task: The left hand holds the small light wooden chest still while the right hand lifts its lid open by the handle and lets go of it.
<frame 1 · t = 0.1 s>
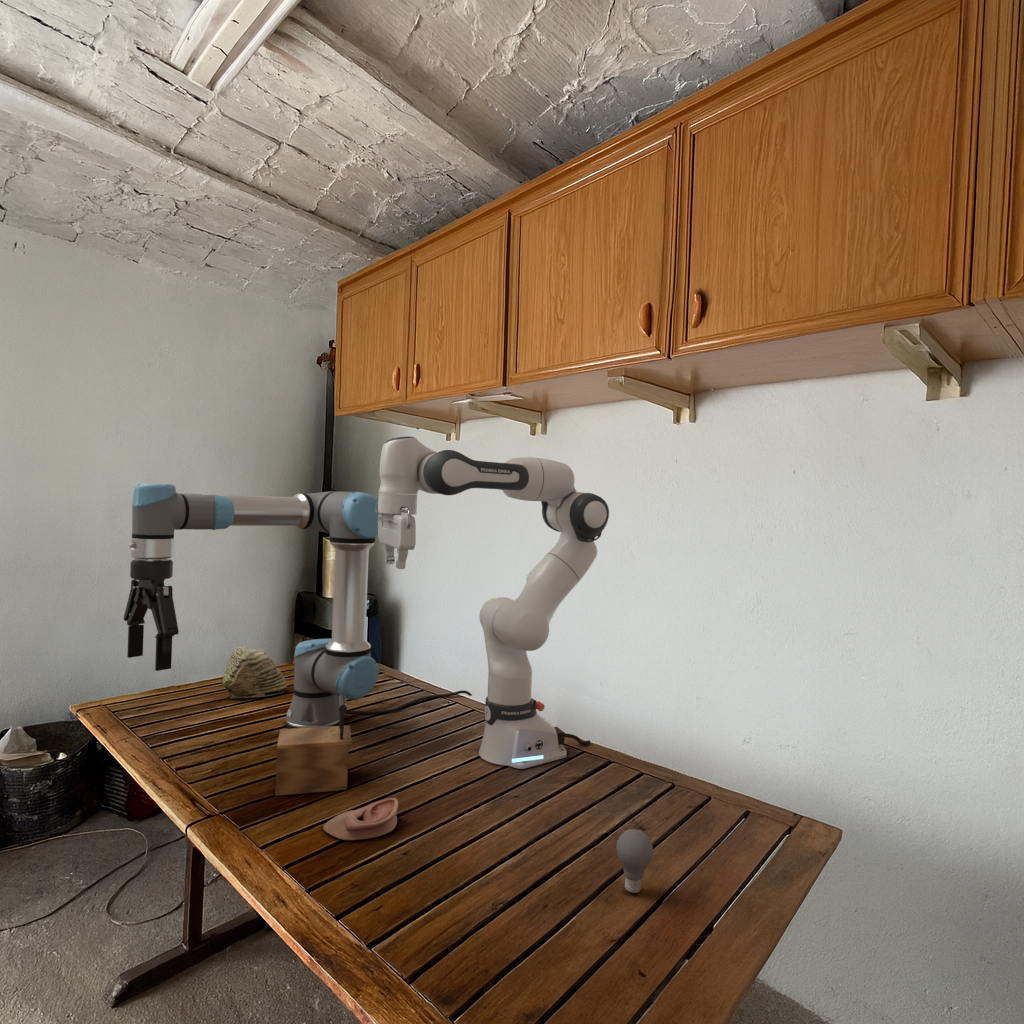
left hand: (148, 662, 129), 28 cm above the table, tool pointing down, fingers open, 13 cm apart
right hand: (395, 566, 146), 48 cm above the table, tool pointing down, fingers open, 8 cm apart
fossil: (254, 694, 198), on the table
light bulb: (632, 891, 106), on the table
chest: (312, 782, 140), on the table
anatomical model: (361, 826, 122), on the table
lid: (315, 719, 140), point 14 cm above the table, hinge at 0.0°
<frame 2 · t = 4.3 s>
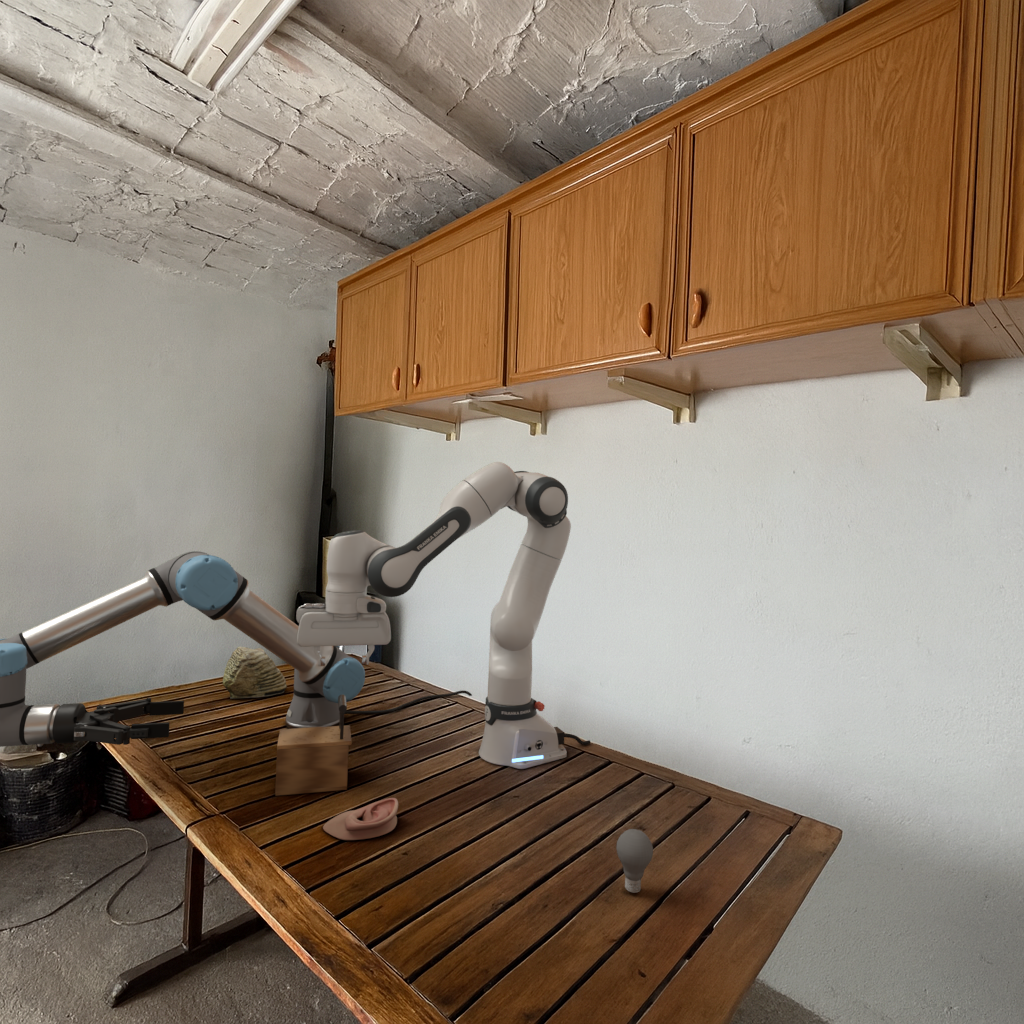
left hand: (176, 717, 132), 16 cm above the table, tool horizontal, fingers open, 13 cm apart
right hand: (343, 664, 141), 26 cm above the table, tool pointing down, fingers open, 8 cm apart
nothing on the table moved.
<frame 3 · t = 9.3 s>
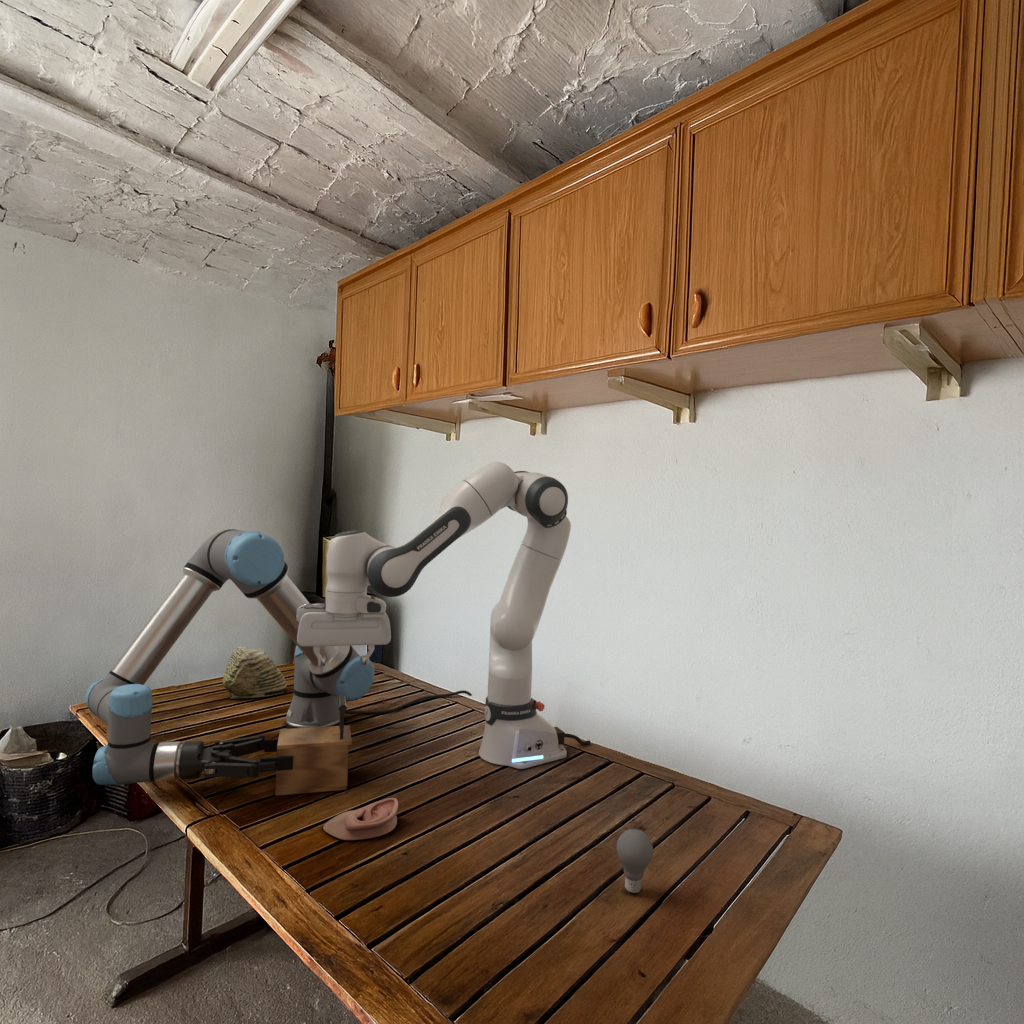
left hand: (294, 752, 139), 7 cm above the table, tool horizontal, fingers closed on chest, 10 cm apart
right hand: (343, 664, 141), 26 cm above the table, tool pointing down, fingers open, 8 cm apart
chest: (312, 782, 140), on the table, touching left hand
everything else where it was.
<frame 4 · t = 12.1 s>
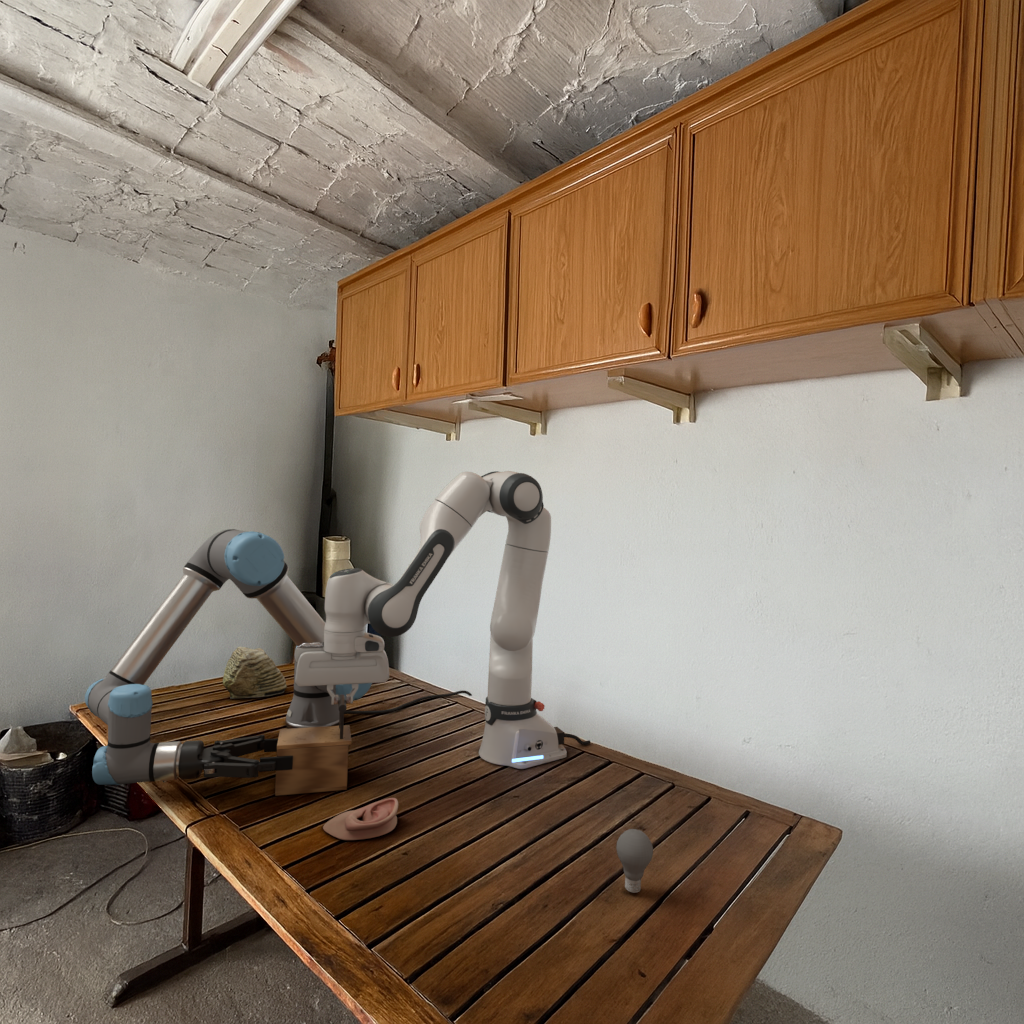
left hand: (293, 752, 139), 7 cm above the table, tool horizontal, fingers closed on chest, 10 cm apart
right hand: (342, 703, 141), 17 cm above the table, tool pointing down, fingers closed on lid, 2 cm apart
chest: (311, 782, 140), on the table, touching left hand
lid: (315, 719, 140), point 14 cm above the table, hinge at 0.2°, touching right hand
everything else where it was.
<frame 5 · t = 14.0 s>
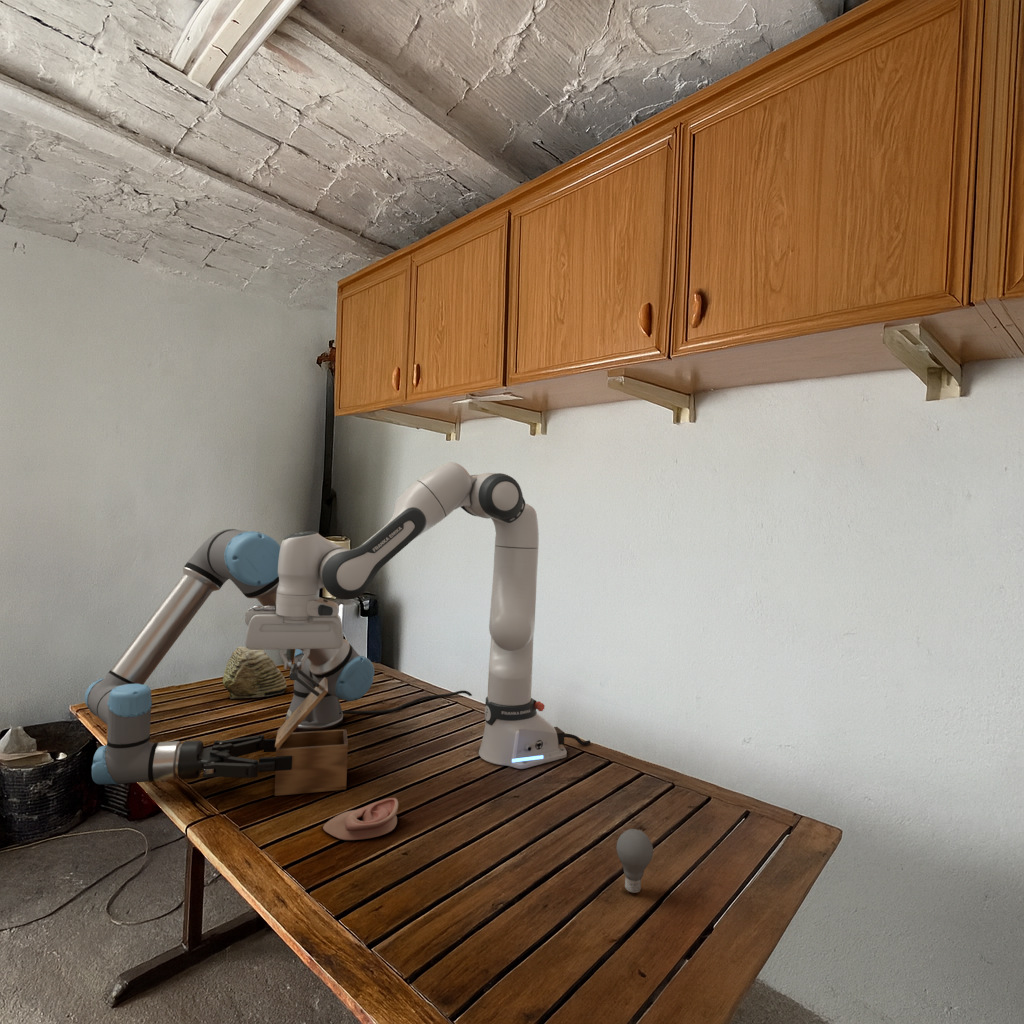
left hand: (293, 752, 139), 7 cm above the table, tool horizontal, fingers closed on chest, 10 cm apart
right hand: (294, 668, 138), 26 cm above the table, tool pointing down, fingers closed, pressing on lid
chest: (311, 782, 140), on the table, touching left hand
lid: (288, 701, 138), point 18 cm above the table, hinge at 50.1°, touching right hand
everything else where it was.
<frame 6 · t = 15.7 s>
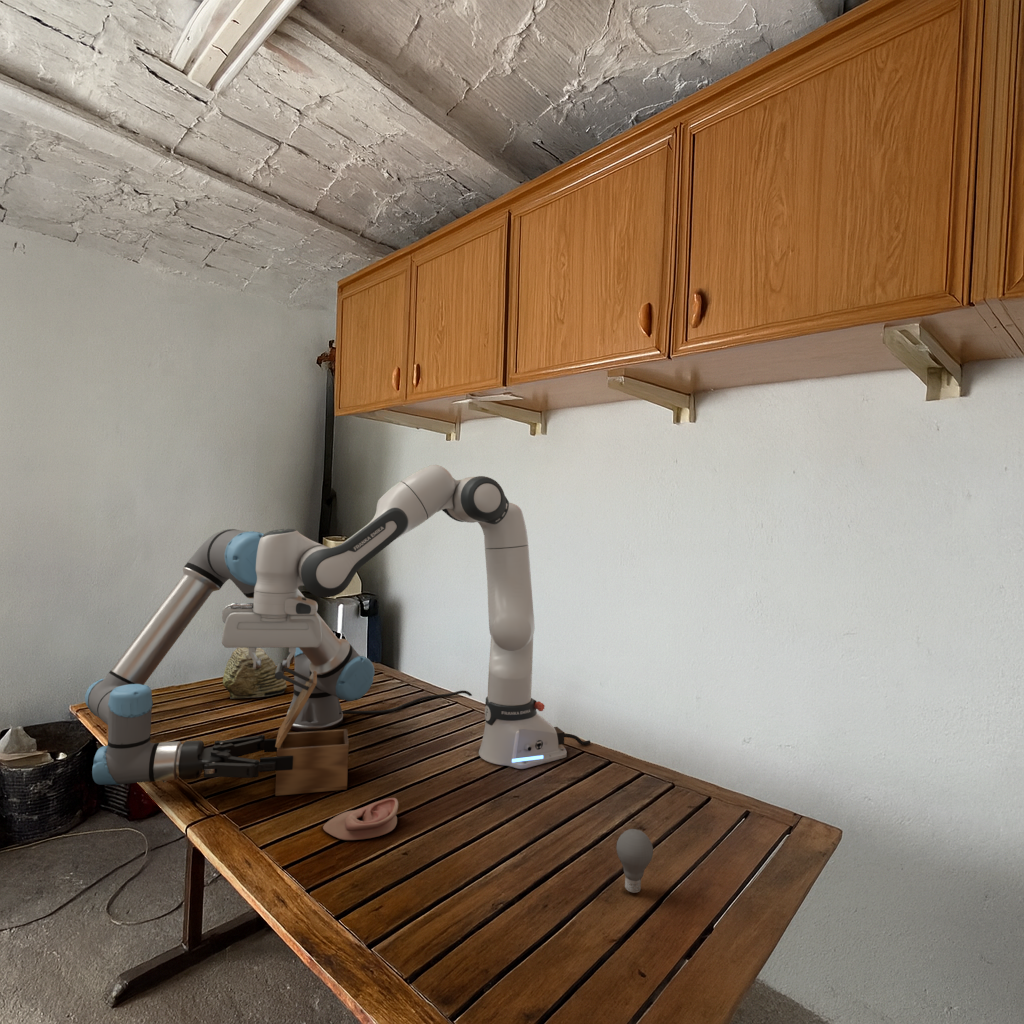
left hand: (293, 752, 139), 7 cm above the table, tool horizontal, fingers closed on chest, 10 cm apart
right hand: (271, 667, 137), 26 cm above the table, tool pointing down, fingers open, 4 cm apart
chest: (312, 782, 140), on the table, touching left hand
lid: (280, 700, 138), point 19 cm above the table, hinge at 61.7°, touching right hand
everything else where it was.
when the left hand's fingers open (7 cm above the table, at t = 18.7 s): chest stays where it is, on the table.
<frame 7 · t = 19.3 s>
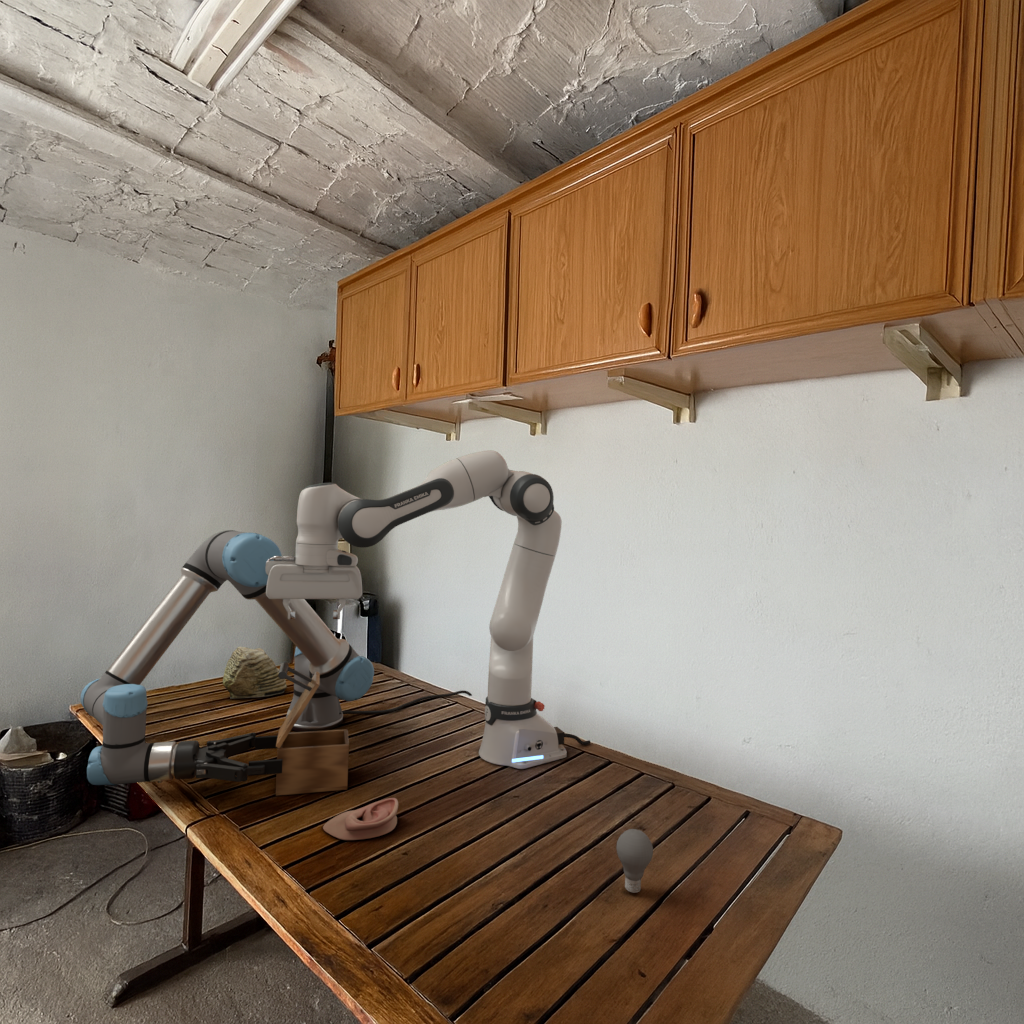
left hand: (284, 753, 138), 7 cm above the table, tool horizontal, fingers open, 13 cm apart
right hand: (314, 619, 139), 36 cm above the table, tool pointing down, fingers open, 8 cm apart
chest: (312, 782, 140), on the table
lid: (283, 700, 138), point 19 cm above the table, hinge at 59.8°
everything else where it was.
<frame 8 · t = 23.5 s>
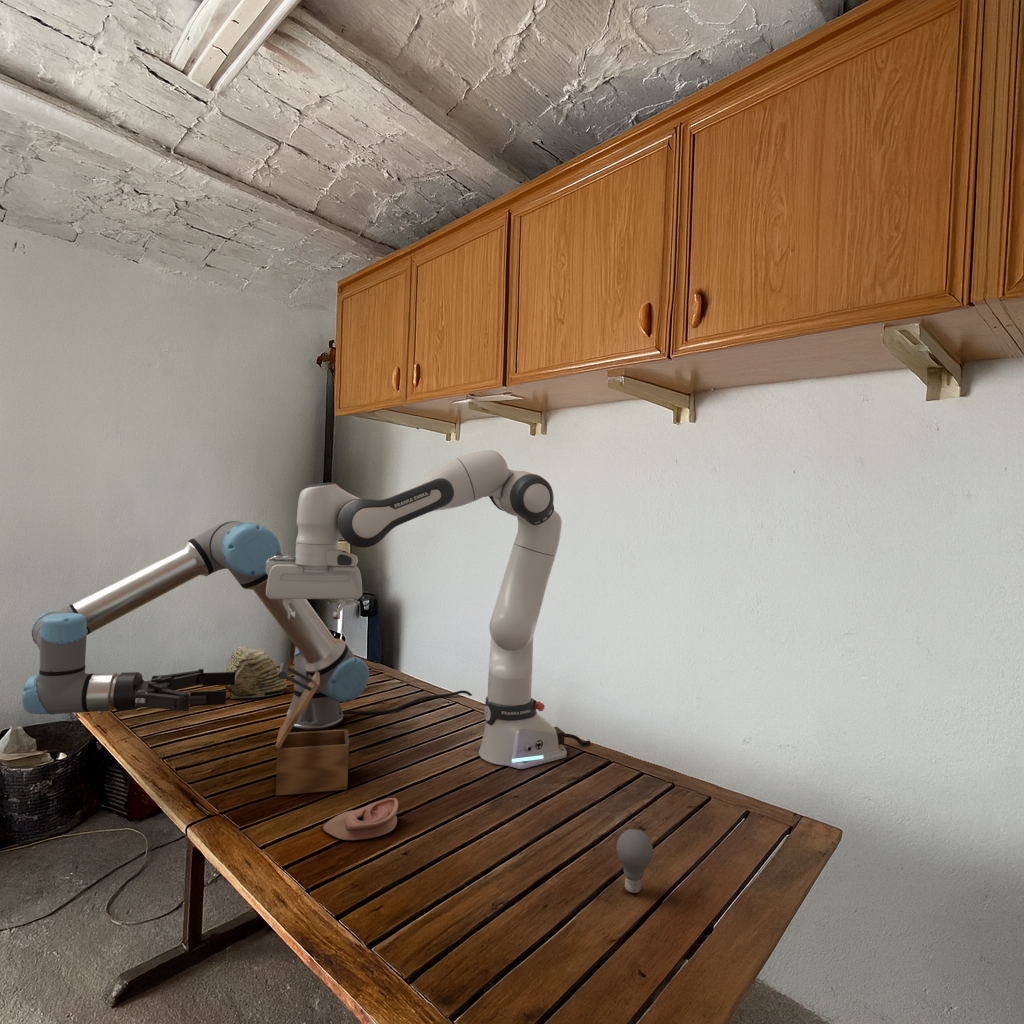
left hand: (230, 687, 135), 22 cm above the table, tool horizontal, fingers open, 13 cm apart
right hand: (314, 619, 139), 36 cm above the table, tool pointing down, fingers open, 8 cm apart
nothing on the table moved.
at the end: lid at +60° (first picture: +0°); the left hand is holding nothing; the right hand is holding nothing; chest tilted 0°; chest never tilted more than 1° during the clip; chest moved 0.1 cm from its start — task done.
